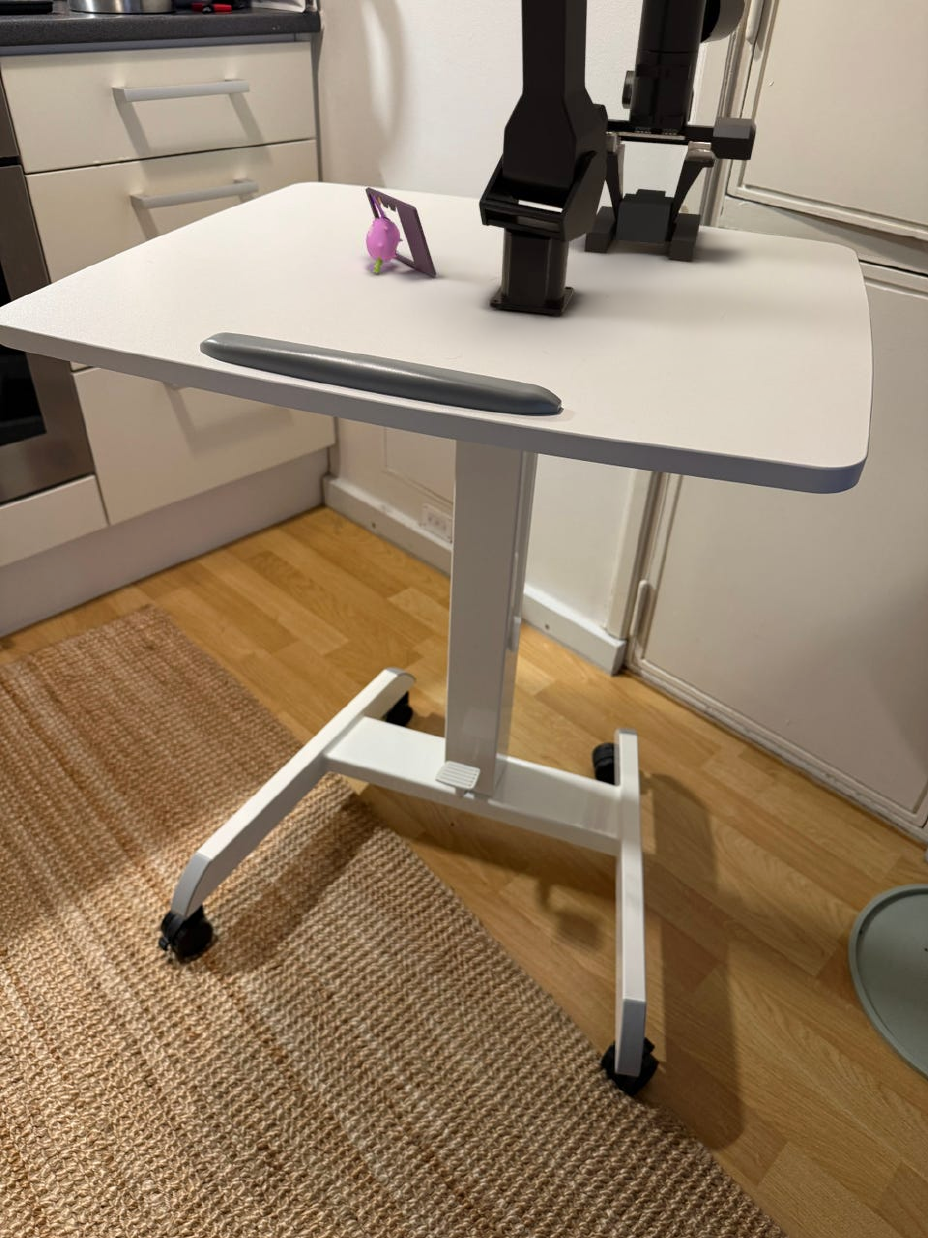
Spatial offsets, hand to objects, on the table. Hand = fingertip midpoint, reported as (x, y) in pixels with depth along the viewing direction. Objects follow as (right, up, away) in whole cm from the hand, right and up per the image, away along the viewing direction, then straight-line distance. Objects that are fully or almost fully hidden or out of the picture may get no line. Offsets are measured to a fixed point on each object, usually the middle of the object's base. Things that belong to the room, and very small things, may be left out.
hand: (643, 225), depth 93 cm
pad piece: (0, 0, +2) cm, 2 cm away
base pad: (+1, 0, +3) cm, 3 cm away
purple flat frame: (-26, -7, -6) cm, 27 cm away
